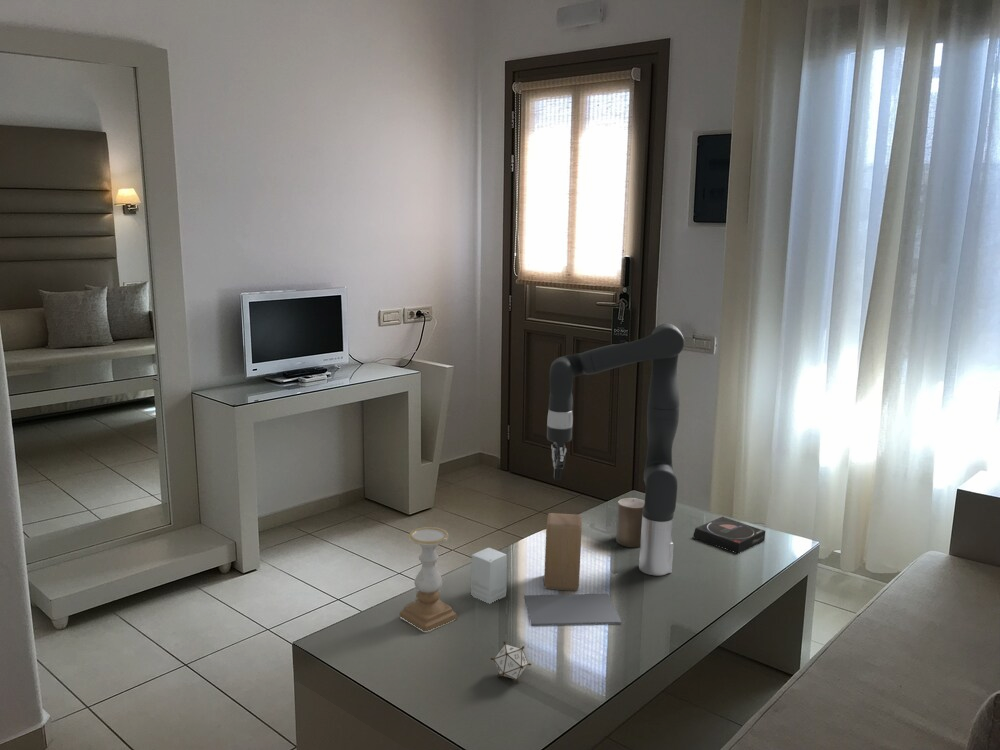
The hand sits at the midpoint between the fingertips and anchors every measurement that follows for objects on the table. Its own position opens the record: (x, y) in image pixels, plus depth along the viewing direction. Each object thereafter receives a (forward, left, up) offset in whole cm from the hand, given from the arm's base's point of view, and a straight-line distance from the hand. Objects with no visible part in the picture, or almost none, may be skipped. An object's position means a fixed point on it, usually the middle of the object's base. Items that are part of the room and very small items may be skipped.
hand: (557, 479), depth 243 cm
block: (0, +14, -27) cm, 31 cm away
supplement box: (+22, +21, -27) cm, 41 cm away
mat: (0, +30, -27) cm, 40 cm away
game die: (+20, +61, -27) cm, 70 cm away
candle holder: (+39, +33, -27) cm, 58 cm away
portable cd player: (-62, -16, -28) cm, 70 cm away
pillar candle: (-28, -15, -27) cm, 42 cm away
